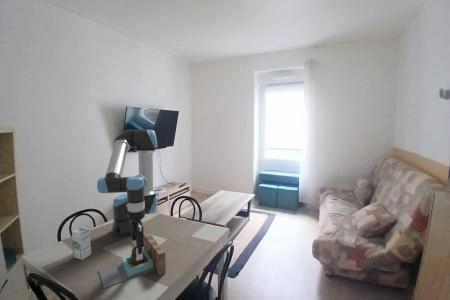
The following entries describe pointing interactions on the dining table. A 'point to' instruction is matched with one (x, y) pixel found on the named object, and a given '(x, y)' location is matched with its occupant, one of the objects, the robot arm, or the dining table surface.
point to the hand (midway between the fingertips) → (137, 256)
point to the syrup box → (81, 243)
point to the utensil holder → (133, 256)
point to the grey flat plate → (117, 274)
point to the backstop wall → (155, 253)
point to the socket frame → (138, 268)
